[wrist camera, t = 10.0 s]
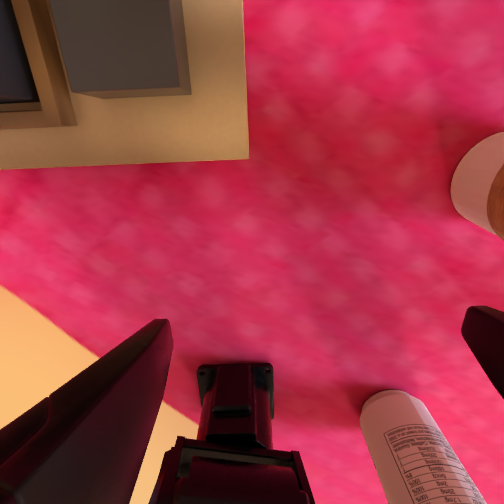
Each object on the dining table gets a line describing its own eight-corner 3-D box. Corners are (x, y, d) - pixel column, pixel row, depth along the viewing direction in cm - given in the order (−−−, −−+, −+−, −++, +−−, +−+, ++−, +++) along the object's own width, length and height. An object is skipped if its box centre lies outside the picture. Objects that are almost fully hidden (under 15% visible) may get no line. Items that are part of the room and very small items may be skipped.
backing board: (249, 157, 18) (249, 164, 14) (-46, 170, 18) (-125, 180, 15) (235, -172, 13) (229, -303, 9) (-182, -148, 13) (-364, -265, 9)
